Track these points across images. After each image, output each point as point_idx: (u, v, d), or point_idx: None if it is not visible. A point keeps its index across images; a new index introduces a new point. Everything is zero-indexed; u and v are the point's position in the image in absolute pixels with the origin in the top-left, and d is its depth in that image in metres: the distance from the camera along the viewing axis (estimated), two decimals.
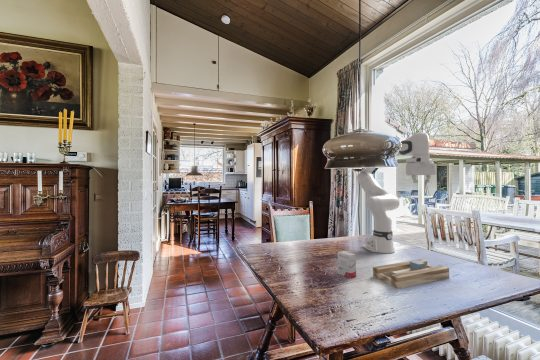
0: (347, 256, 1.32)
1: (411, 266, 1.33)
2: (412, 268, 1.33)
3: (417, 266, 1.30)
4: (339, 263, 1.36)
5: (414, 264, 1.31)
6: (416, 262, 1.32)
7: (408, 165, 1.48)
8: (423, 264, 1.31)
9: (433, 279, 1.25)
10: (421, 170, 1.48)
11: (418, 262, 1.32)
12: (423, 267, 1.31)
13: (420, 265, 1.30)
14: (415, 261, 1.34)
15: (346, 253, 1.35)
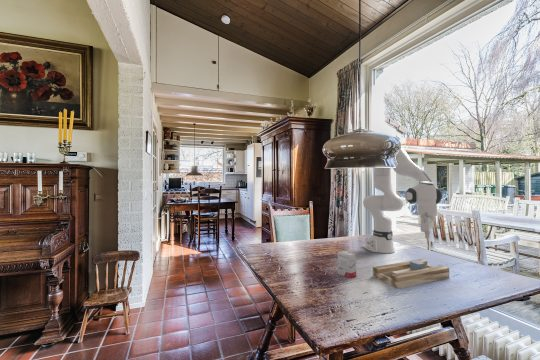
0: (347, 256, 1.32)
1: (411, 266, 1.33)
2: (412, 268, 1.33)
3: (417, 266, 1.30)
4: (339, 263, 1.36)
5: (414, 264, 1.31)
6: (416, 262, 1.32)
7: None
8: (423, 264, 1.31)
9: (433, 279, 1.25)
10: None
11: (418, 262, 1.32)
12: (423, 267, 1.31)
13: (420, 265, 1.30)
14: (415, 261, 1.34)
15: (346, 253, 1.35)
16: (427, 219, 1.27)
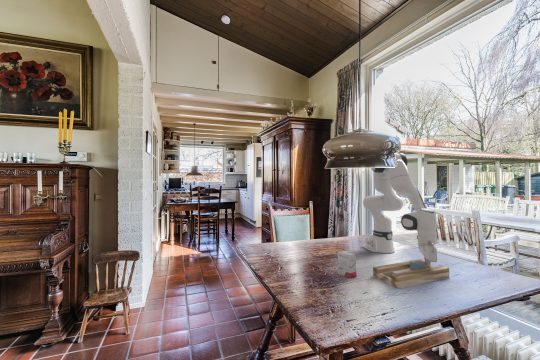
0: (347, 256, 1.32)
1: (411, 266, 1.33)
2: (412, 268, 1.33)
3: (417, 266, 1.30)
4: (339, 263, 1.36)
5: (414, 264, 1.31)
6: (416, 262, 1.32)
7: None
8: (423, 264, 1.31)
9: (433, 279, 1.25)
10: (422, 250, 1.37)
11: (418, 262, 1.32)
12: (423, 267, 1.31)
13: (420, 265, 1.30)
14: (415, 261, 1.34)
15: (346, 253, 1.35)
16: (435, 249, 1.26)
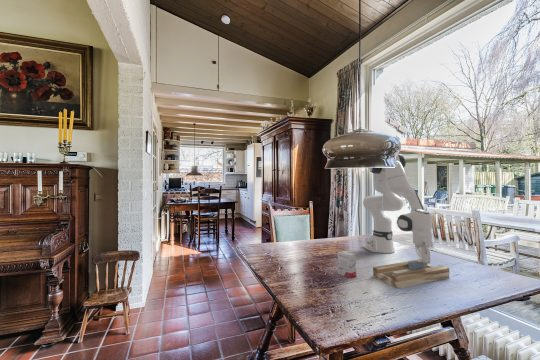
0: (347, 256, 1.32)
1: (410, 266, 1.33)
2: (410, 268, 1.33)
3: (415, 266, 1.30)
4: (339, 263, 1.36)
5: (412, 264, 1.31)
6: (414, 262, 1.32)
7: None
8: (421, 264, 1.30)
9: (433, 279, 1.25)
10: (418, 251, 1.36)
11: (417, 262, 1.32)
12: (421, 267, 1.30)
13: (418, 265, 1.30)
14: (414, 261, 1.34)
15: (346, 253, 1.35)
16: (428, 250, 1.25)
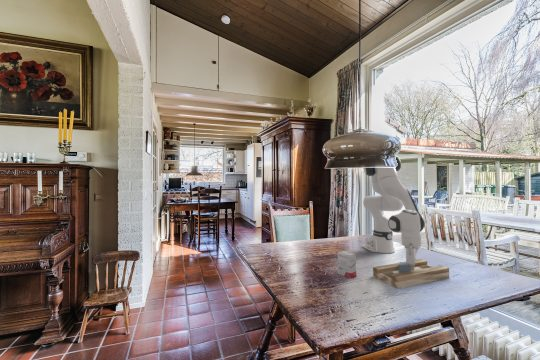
0: (347, 256, 1.32)
1: None
2: None
3: None
4: (339, 263, 1.36)
5: None
6: (402, 263, 1.31)
7: None
8: (406, 266, 1.28)
9: (433, 279, 1.25)
10: None
11: (404, 264, 1.30)
12: (406, 269, 1.27)
13: (401, 266, 1.29)
14: (405, 263, 1.31)
15: (346, 253, 1.35)
16: (413, 251, 1.22)
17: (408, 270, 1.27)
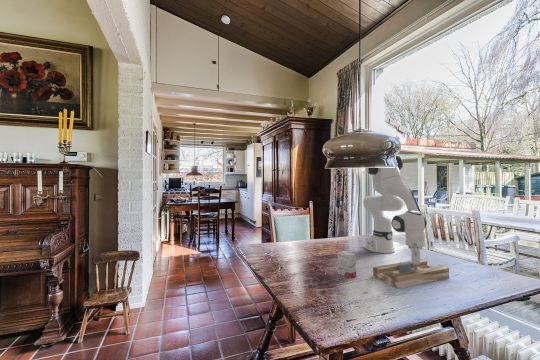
0: (347, 256, 1.32)
1: None
2: None
3: (399, 266, 1.30)
4: (339, 263, 1.36)
5: (399, 264, 1.31)
6: (403, 263, 1.31)
7: None
8: (407, 266, 1.27)
9: (433, 279, 1.25)
10: None
11: (405, 264, 1.30)
12: (407, 270, 1.28)
13: (402, 266, 1.29)
14: (405, 263, 1.31)
15: (346, 253, 1.35)
16: (418, 251, 1.24)
17: (409, 270, 1.27)
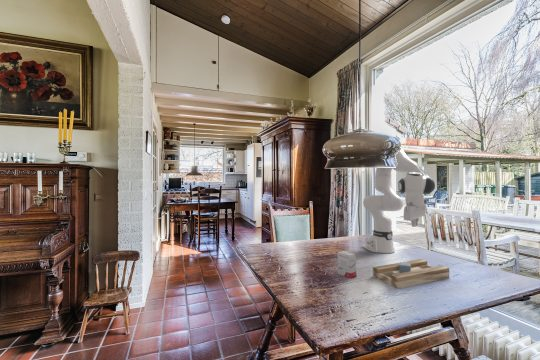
0: (347, 256, 1.32)
1: None
2: None
3: (399, 266, 1.30)
4: (339, 263, 1.36)
5: (399, 264, 1.31)
6: (403, 263, 1.31)
7: None
8: (407, 266, 1.27)
9: (433, 279, 1.25)
10: None
11: (405, 264, 1.30)
12: (407, 270, 1.28)
13: (402, 266, 1.29)
14: (405, 263, 1.31)
15: (346, 253, 1.35)
16: (409, 208, 1.34)
17: (409, 270, 1.27)
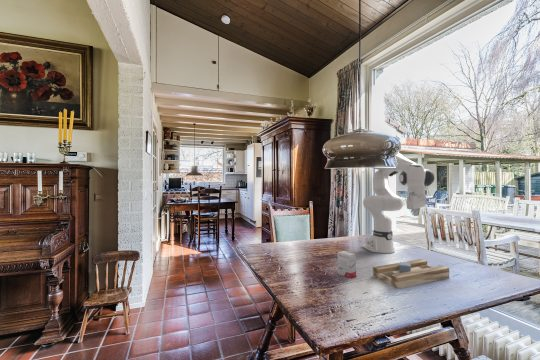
0: (347, 256, 1.32)
1: None
2: None
3: (399, 266, 1.30)
4: (339, 263, 1.36)
5: (399, 264, 1.31)
6: (403, 263, 1.31)
7: None
8: (407, 266, 1.27)
9: (433, 279, 1.25)
10: None
11: (405, 264, 1.30)
12: (407, 270, 1.28)
13: (402, 266, 1.29)
14: (405, 263, 1.31)
15: (346, 253, 1.35)
16: (412, 197, 1.40)
17: (409, 270, 1.27)
